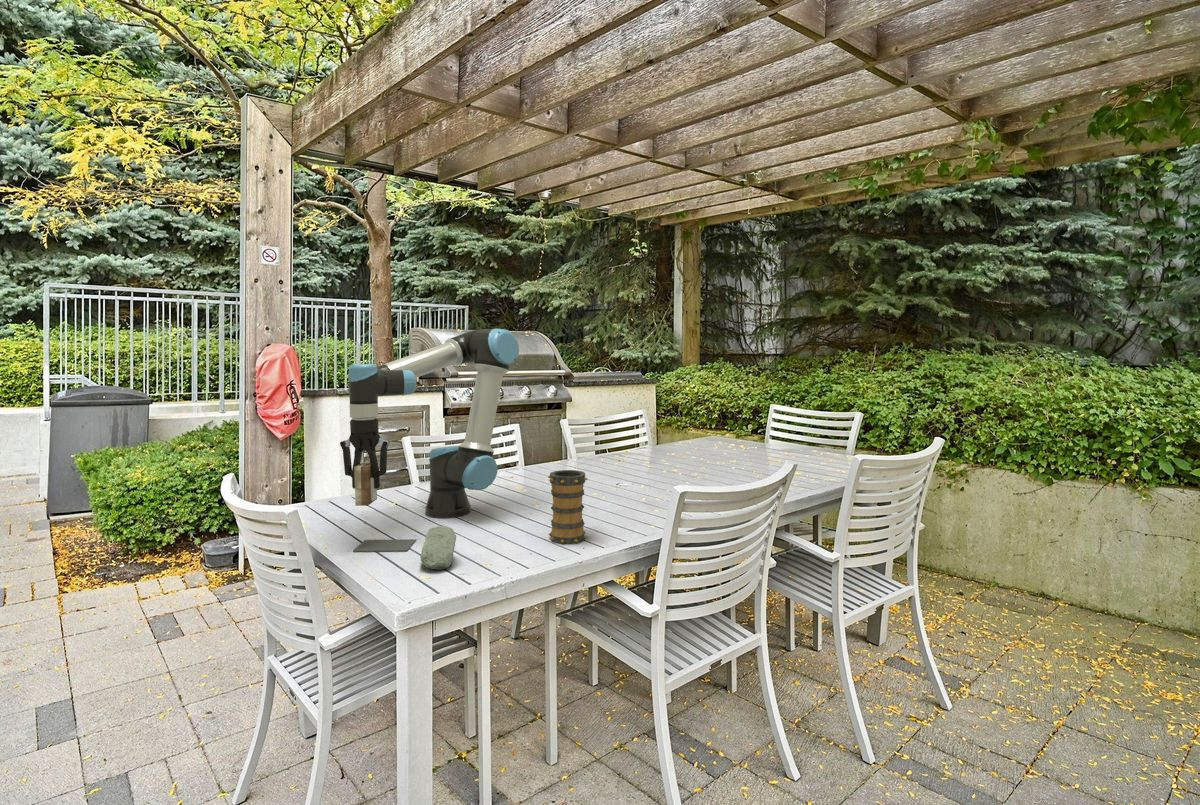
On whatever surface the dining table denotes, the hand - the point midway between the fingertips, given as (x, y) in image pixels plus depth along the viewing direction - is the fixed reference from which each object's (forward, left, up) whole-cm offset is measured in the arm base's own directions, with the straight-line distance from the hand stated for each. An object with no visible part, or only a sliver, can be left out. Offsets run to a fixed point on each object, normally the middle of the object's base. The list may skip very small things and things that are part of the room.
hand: (366, 499), depth 179 cm
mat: (-5, 0, -14) cm, 15 cm away
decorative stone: (-24, +15, -14) cm, 32 cm away
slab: (0, 0, -1) cm, 1 cm away
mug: (-58, -8, -14) cm, 60 cm away
